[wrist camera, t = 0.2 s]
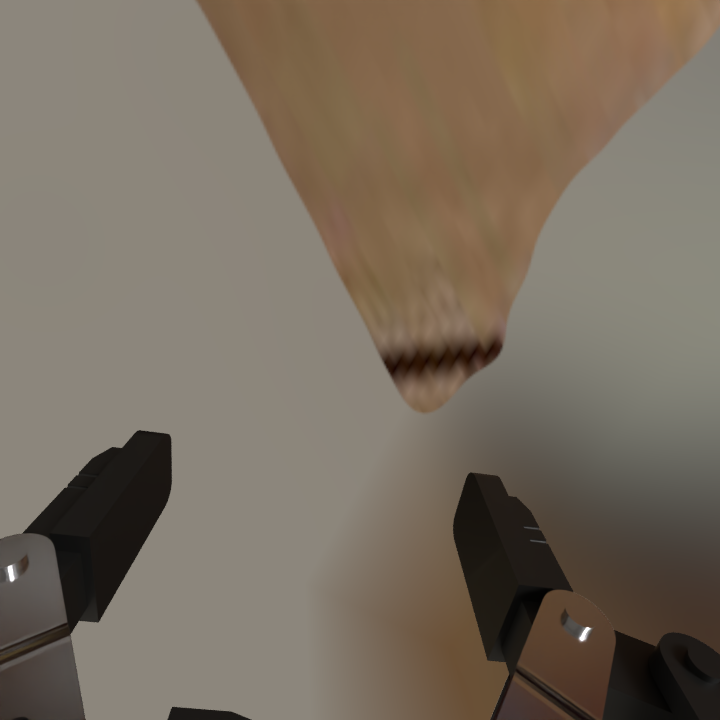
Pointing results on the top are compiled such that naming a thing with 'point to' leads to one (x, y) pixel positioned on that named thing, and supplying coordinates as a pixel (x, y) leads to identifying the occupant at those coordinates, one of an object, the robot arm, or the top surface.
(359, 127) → the top surface
